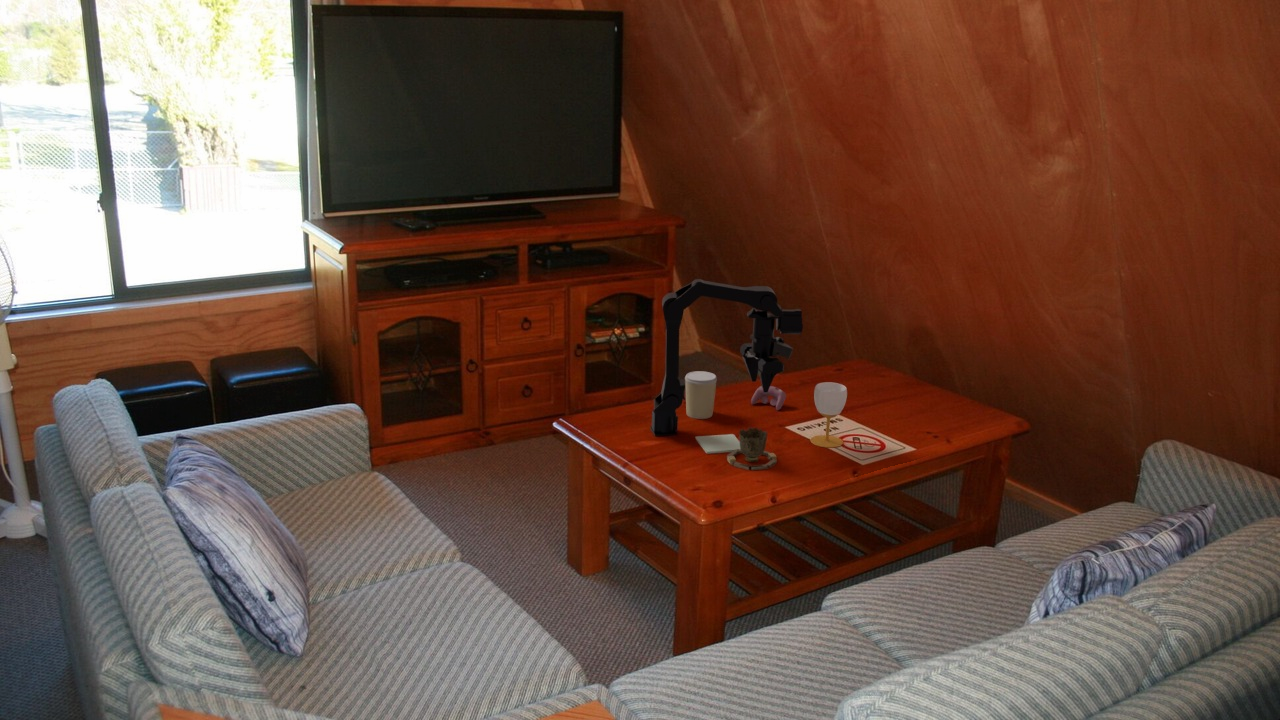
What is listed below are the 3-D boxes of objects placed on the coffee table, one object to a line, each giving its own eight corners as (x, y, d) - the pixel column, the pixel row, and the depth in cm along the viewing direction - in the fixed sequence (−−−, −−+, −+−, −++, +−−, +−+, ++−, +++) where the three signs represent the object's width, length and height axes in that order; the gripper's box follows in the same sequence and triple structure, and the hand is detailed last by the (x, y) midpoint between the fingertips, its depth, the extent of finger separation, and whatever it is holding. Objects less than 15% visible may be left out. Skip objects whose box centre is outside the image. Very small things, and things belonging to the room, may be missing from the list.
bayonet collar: (735, 471, 269) (736, 467, 269) (721, 453, 281) (721, 448, 281) (782, 467, 272) (783, 463, 272) (766, 449, 284) (766, 445, 283)
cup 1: (746, 467, 272) (747, 439, 270) (732, 457, 278) (734, 429, 276) (771, 463, 275) (772, 435, 272) (757, 453, 281) (758, 425, 279)
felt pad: (706, 453, 280) (706, 451, 280) (695, 438, 291) (695, 436, 290) (745, 450, 283) (745, 448, 283) (733, 436, 293) (733, 434, 293)
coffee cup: (708, 407, 315) (709, 369, 311) (720, 418, 306) (721, 379, 303) (679, 410, 312) (680, 372, 308) (690, 421, 303) (691, 382, 300)
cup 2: (835, 434, 296) (840, 381, 291) (848, 446, 287) (853, 391, 282) (805, 436, 294) (809, 382, 289) (817, 448, 285) (821, 393, 280)
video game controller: (783, 412, 316) (789, 390, 317) (778, 410, 312) (784, 387, 313) (754, 406, 321) (760, 384, 322) (748, 403, 317) (754, 381, 318)
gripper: (804, 341, 280) (799, 396, 285) (778, 322, 297) (774, 374, 302) (765, 343, 277) (761, 398, 282) (741, 324, 294) (737, 376, 299)
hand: (759, 386), depth 291 cm, fingers open, 9 cm apart
